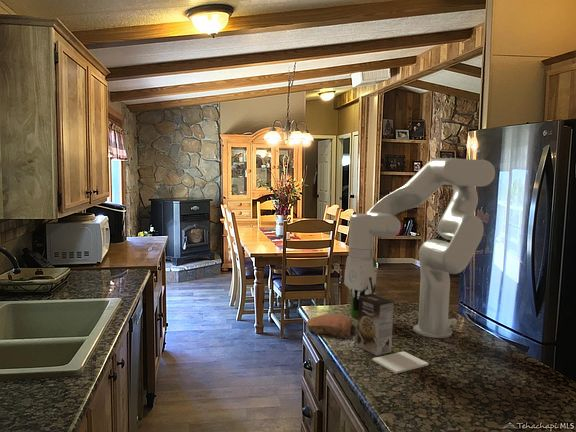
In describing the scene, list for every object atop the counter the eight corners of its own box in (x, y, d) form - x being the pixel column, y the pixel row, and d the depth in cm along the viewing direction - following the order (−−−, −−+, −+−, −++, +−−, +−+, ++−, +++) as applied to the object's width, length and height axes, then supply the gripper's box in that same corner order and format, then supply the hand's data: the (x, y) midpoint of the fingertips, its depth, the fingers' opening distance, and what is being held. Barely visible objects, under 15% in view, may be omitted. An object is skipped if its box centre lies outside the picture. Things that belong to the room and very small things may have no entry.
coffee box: (355, 346, 150) (357, 295, 149) (371, 342, 154) (373, 292, 152) (376, 356, 143) (378, 302, 141) (392, 352, 146) (394, 299, 145)
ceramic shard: (312, 306, 175) (353, 316, 172) (309, 324, 175) (350, 334, 172) (306, 313, 160) (351, 323, 157) (302, 332, 160) (347, 343, 157)
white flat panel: (403, 353, 146) (403, 351, 146) (428, 365, 137) (428, 363, 137) (372, 360, 140) (372, 358, 140) (396, 373, 131) (396, 371, 131)
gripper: (337, 250, 157) (335, 305, 159) (366, 258, 144) (364, 318, 146) (355, 248, 161) (354, 302, 163) (385, 256, 148) (383, 315, 150)
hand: (358, 310), depth 154 cm, fingers closed
